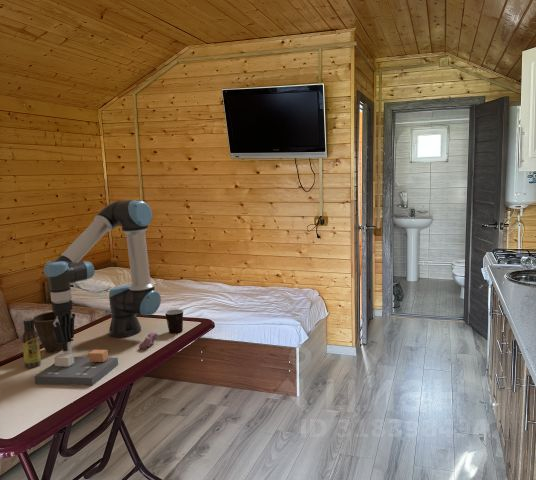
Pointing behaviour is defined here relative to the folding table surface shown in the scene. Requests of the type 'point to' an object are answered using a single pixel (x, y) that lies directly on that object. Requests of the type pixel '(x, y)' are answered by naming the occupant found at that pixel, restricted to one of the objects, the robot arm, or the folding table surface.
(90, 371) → the board
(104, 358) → the block
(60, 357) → the block
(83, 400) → the folding table surface
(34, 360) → the sauce bottle
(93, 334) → the folding table surface
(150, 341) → the pink lumpy piece
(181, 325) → the coffee mug
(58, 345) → the plant pot
